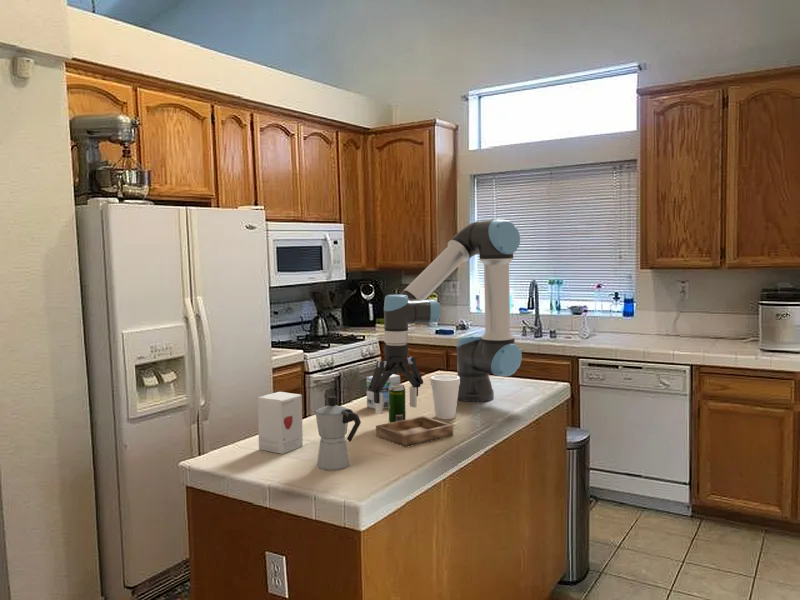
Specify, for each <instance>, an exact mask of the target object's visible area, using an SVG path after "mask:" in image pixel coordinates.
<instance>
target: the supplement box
mask: <svg viewBox="0 0 800 600" xmlns="http://www.w3.org/2000/svg"><path fill="white" fill-rule="evenodd" d="M257 414H258V415H257V416H258V417H257V419H258V423H257V424H258V428H257V429H258V450H261V451H267V452H270V453H274V454H275V453H276V454H280V455H284V454H286V453H289V452H291V451H293V450H296V449H298V448H299V449H300V448H301V447H303V446H304V444H303V441H304V439H303V438H304V437H303V435H304V434H303V396H302V394H299V393H291V392H286V391H277V392H273V393H269V394H265V395H262V396H258V397H257Z"/></svg>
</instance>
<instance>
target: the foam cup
mask: <svg viewBox="0 0 800 600" xmlns="http://www.w3.org/2000/svg"><path fill="white" fill-rule="evenodd" d="M430 385H431V391H432V397H433V404H434V412H435V417H436V418H437V417H438V418H437V419H440V418H443V420H450V419H454V418H456V412H457V404H458V400H457V399H458V391H459V385H460V377H458V376H457V375H454V374H437V375H432V376H431V377H430Z"/></svg>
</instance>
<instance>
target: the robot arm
mask: <svg viewBox="0 0 800 600" xmlns="http://www.w3.org/2000/svg"><path fill="white" fill-rule="evenodd" d="M520 245H521V235H520V232H519V229H518V228H517V226H516V225H515V224H514V223H513V222H512V221H510V220H507V219H491V220H490V219H489V220H476V221H474V222H471V223H470V224H468V225H466V226H465V227H463V228H462V229H461V230H460V231H459V232H457V233H456V234H455V235H454V236H452V238H451V239H450V240H449V241H448V242H447V247H446V248H445V249H444V250H443V251H442V252H441V253H440V254H438V256H437V257H435V259H434V260H433V261H432V262H431V263H430V264H429V265H428V266H427V267H425V269H424V270H422V272H420V274H418V276H417V277H415V279H414V280H413V281H411V282H410V283H409V284H408V285H407V287H405V288H404V289H403V290H402V291H401V292H400V293H399V294H387V295H385V297H384V303H383V304H384V305H383V314H384V315H383V317H384V318H383V319H384V320H383V321H384V322H383V325H384V326H383V328H384V329H383V332H384V340H383V341H384V343H385V344H384V347H383V348H384V353H383V354H384V357H385V359H384V361H383V360H380V359H379V360H376V363H375V364H376V365H375V370H374V372H373V375H372V376H373V377H372V380H371V382H370V385H369V388H368V390H369V391H371V392H373V393H374V403H376V409H375V413H376V414H379V415H383V414H384V413H383V412H384V411H383V410H384V409H383V393H380V392H381V390H382V389H383V387H384V385H385V384H386V382H387V381H388V379H389V377H390V376H391V375H392V374H395V375H397V374H403V375H404V377H405V378H406V379H407V380H408V382H409V384H410V385H411V386H409V407H411V408H417V406H418V405H417V404H418V403H417V402H418V401H417V400H418V399H417V397H419V388H421V386H422V385H423V384H424V380H423V377H422V375H421V373H420V371H419V368H418V365H417V362H416V361H417V360H416V357H415V356H410V355H409V345H408V343H409V325H412V324H413V325H414V324H430V323H434V322H435V323H436V322H437V321H438V320H439V319H441V314H442V310H441V309H442V308H441V304H440V303H439V302H438V301H437V300H436V299H430V298H429V299H428V297H429V296H430V295H431V294H432V293H434V291H436V289H437V288H438V287H439V286H440V285H441V284H443V282H444V281H445V280H446V279H447V278H448V277H449V276H451V274H452V273H454V271H455V270H456V269H457V268H458V267H459V266H460V265H461V264H462V263H463V262H465V263H466V262H468V261H469V260H470V259H471V258H472V257H474V256H476V255H479V261H481V263H482V264H483V273H484V274H483V276H484V278H483V279H484V280H483V281H484V282H483V283H484V286H483V287H484V322H485V323H484V331H485V332H484V333H483V334H477V335H476V334H475V335H465V336H460V337H459V338H458V339H457V342H456V363H457V365H456V367H457V372H456V373H457V375H456V376H458V377H460V385H459V391H458V399H457V401H462V402H486V401H491V400H493V399H494V398H495V397H494V395H495V394H494V393H495V391H494V389H493V385H492V382H491V379H490V375H493V376H496V377H504V378H505V377H510V376H512V375H514V374H515V373H516V372H517V370H519V368H520V366H521V363H522V359H523V358H522V357H523V356H522V354H523V353H522V350H521V349H520V347H519V346H518V345H516V343H515V341H516V340H515V339H516V338H515V336H514V335H513V334H512V333H511V313H510V312H511V308H510V307H511V306H510V302H511V301H510V263H511V262H512V261H513V260H514V253H515V252H517V250H518V249H519V247H520ZM408 355H409V356H408ZM407 365H408V366H409V367H407ZM381 375H382V376H381Z"/></svg>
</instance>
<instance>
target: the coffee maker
mask: <svg viewBox="0 0 800 600" xmlns="http://www.w3.org/2000/svg"><path fill="white" fill-rule="evenodd" d="M327 402H328V405H326V406H323V407H318V408H314V409H312V411H313V412H314V413H315V420H316V423H317V425H316V426H317V431H318V436H319V437H320V441H319V447H318V449H319V450H318V458H317V462H316V463H317V467H318V469H319V470H323V469H324V471H329V472H331V470H332V471H340V470H342V469H343V470H344V468H345V469H346V467H347V468H349V467H351V463H350V457H349V451H348V450H349V449H348V446H347V441H348V443H350V442H351V441H352V440H353V438H354V436H355V434H356V433H357V431H358V429H359V427H360V425H361V424H362V421H361V418H360V416H359V415H358V414H357V413H356V412H354V410H352V409H350V408H347V407H345V406H341V405H337V396H336V395H330V396H327ZM351 422H354V425H353V427H352V428H351V430H350V432H349V434H348V436H347V437H346V435H347V433H348V425H349V423H351ZM346 440H347V441H346ZM348 466H349V467H348Z"/></svg>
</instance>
